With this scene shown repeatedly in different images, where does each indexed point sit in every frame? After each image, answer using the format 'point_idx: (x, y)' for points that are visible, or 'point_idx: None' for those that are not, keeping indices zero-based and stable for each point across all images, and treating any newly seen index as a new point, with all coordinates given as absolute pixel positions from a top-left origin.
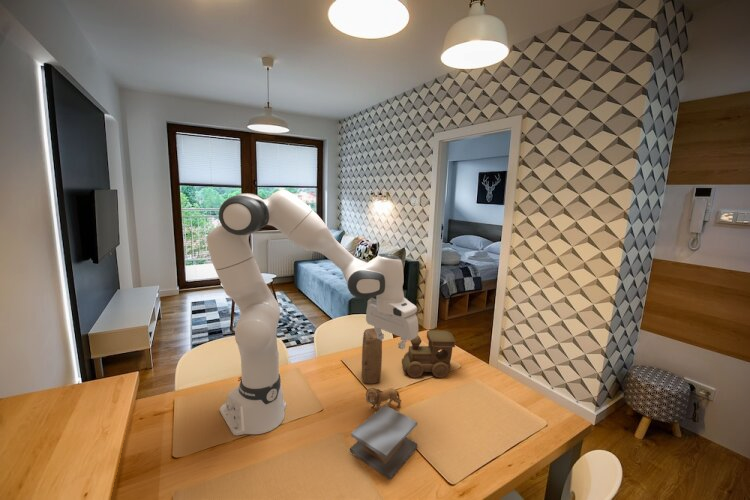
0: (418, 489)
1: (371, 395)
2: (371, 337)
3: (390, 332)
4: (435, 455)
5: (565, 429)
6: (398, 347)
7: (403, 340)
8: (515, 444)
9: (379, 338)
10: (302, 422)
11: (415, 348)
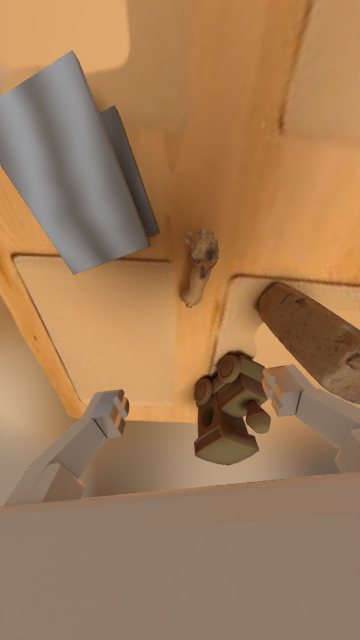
0: (6, 200)
1: (194, 239)
2: (355, 362)
3: (140, 505)
4: (67, 274)
5: (70, 406)
6: (118, 391)
7: (30, 468)
8: (62, 363)
9: (277, 372)
10: (284, 12)
11: (249, 402)
